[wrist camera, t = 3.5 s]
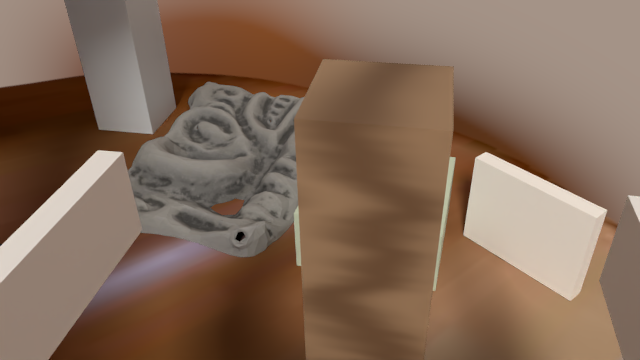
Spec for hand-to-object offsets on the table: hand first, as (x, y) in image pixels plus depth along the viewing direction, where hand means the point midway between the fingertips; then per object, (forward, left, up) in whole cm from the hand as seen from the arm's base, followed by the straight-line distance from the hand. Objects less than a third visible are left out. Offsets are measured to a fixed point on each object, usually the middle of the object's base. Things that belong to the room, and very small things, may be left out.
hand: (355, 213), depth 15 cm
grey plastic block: (-42, +22, -19) cm, 51 cm away
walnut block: (-5, +9, -19) cm, 21 cm away
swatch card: (-1, +23, -19) cm, 30 cm away
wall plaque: (-28, +21, -20) cm, 40 cm away
